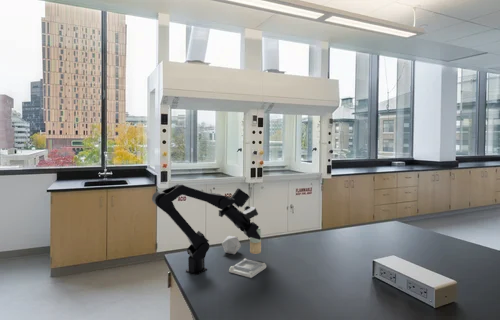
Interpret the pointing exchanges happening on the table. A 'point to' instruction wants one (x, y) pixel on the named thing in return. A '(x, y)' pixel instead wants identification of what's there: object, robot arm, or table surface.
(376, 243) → the table surface
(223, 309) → the table surface
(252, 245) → the tan and green cylinder
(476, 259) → the table surface
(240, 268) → the baseplate
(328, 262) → the table surface
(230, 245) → the die
